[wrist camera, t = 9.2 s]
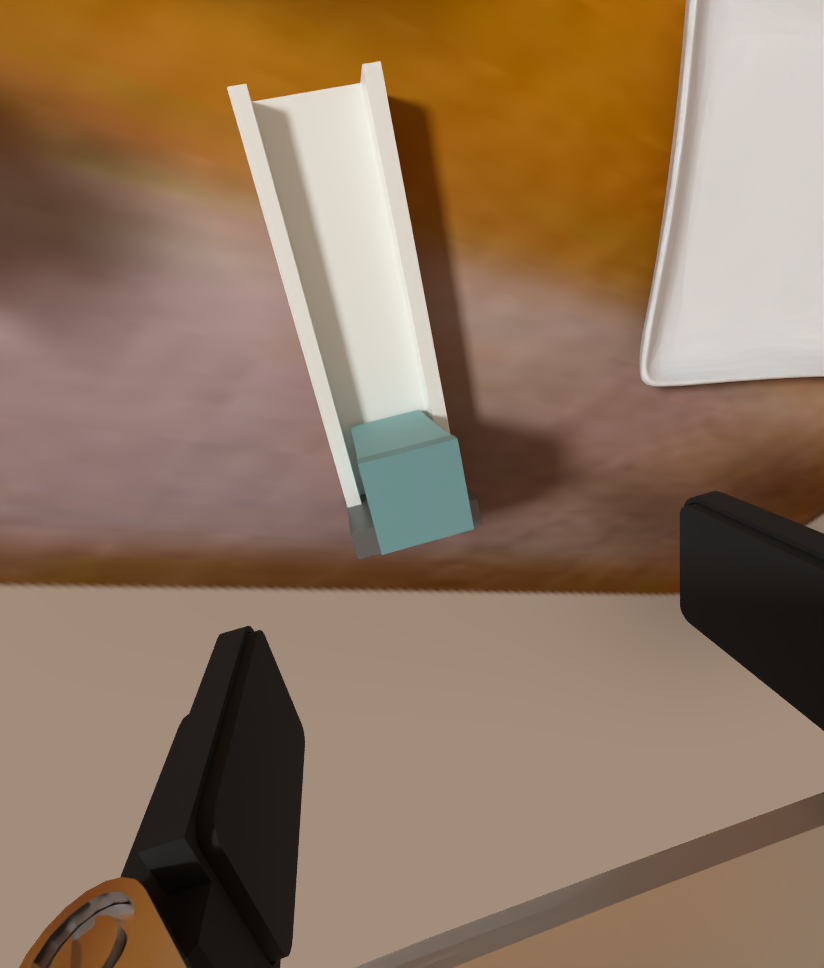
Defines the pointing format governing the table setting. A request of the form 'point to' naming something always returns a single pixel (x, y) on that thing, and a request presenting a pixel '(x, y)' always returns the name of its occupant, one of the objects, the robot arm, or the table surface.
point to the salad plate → (742, 200)
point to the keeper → (412, 480)
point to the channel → (346, 263)
